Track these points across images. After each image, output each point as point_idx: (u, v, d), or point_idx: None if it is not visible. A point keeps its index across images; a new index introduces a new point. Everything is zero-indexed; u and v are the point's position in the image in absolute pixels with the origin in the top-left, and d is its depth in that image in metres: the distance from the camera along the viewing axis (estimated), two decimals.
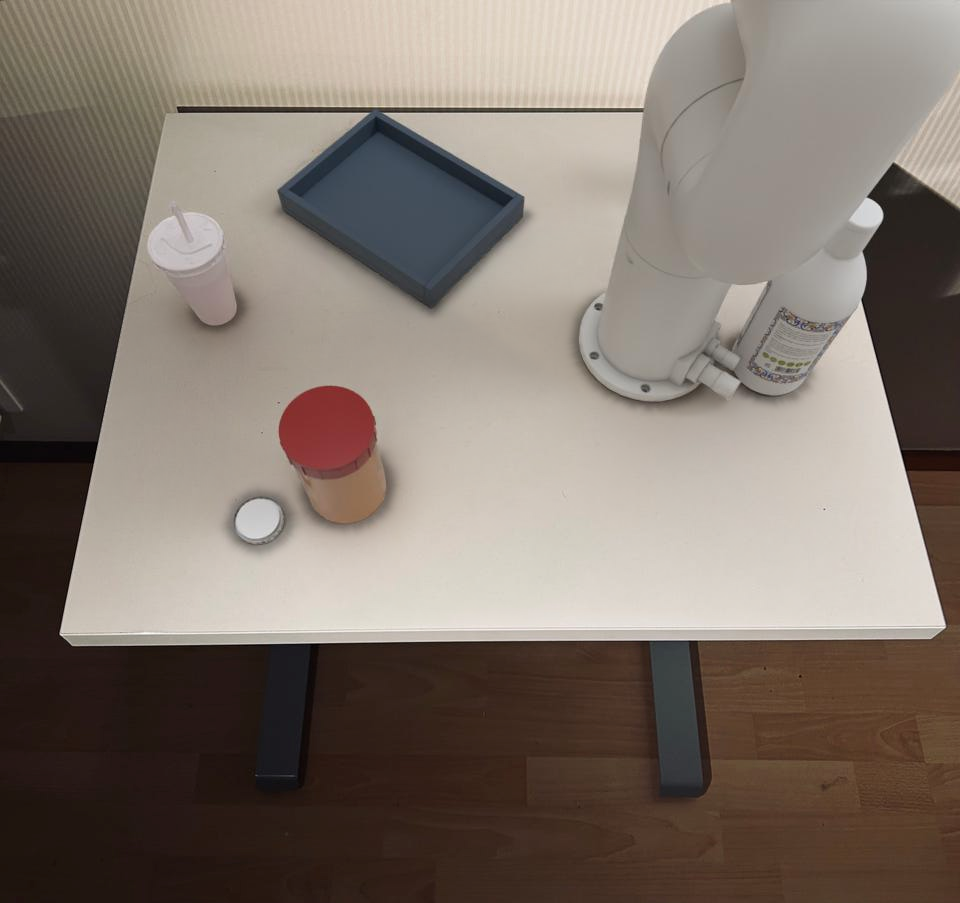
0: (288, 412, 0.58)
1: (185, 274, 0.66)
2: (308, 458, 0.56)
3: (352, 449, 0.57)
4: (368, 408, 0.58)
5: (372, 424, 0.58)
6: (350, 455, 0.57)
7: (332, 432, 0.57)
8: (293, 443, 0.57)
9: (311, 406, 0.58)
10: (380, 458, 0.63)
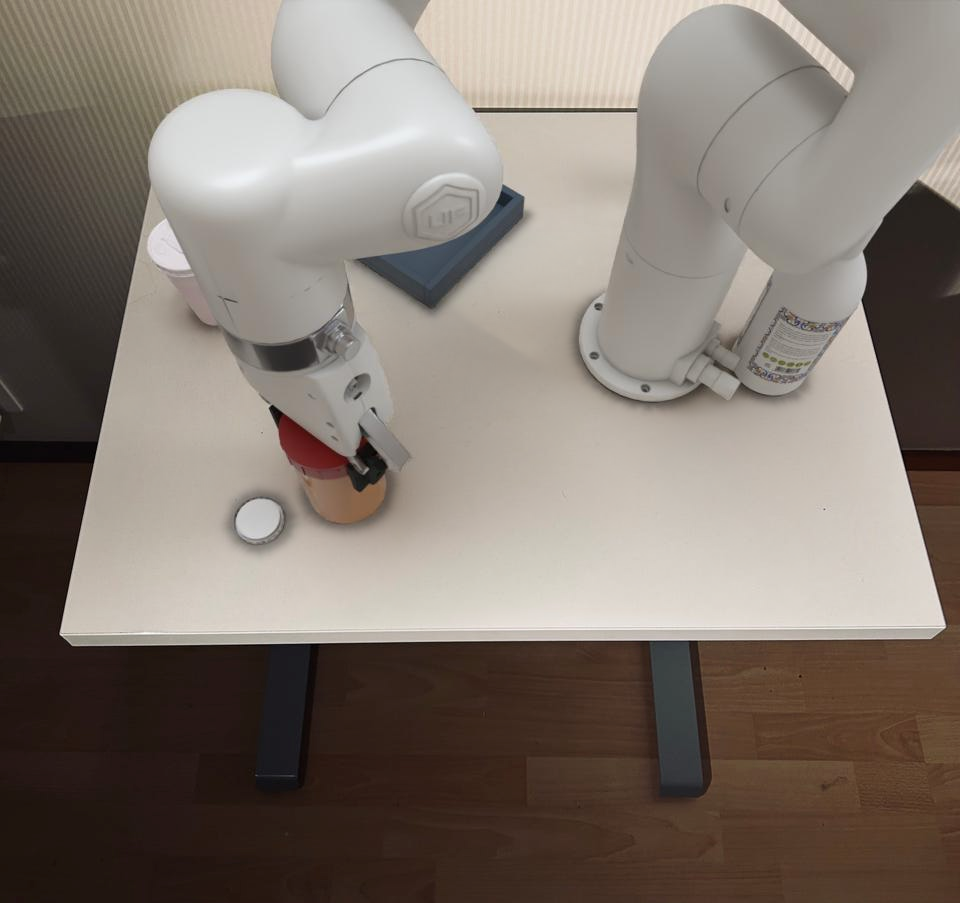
0: None
1: (185, 274, 0.66)
2: (308, 458, 0.56)
3: None
4: None
5: None
6: None
7: None
8: (293, 443, 0.57)
9: None
10: None
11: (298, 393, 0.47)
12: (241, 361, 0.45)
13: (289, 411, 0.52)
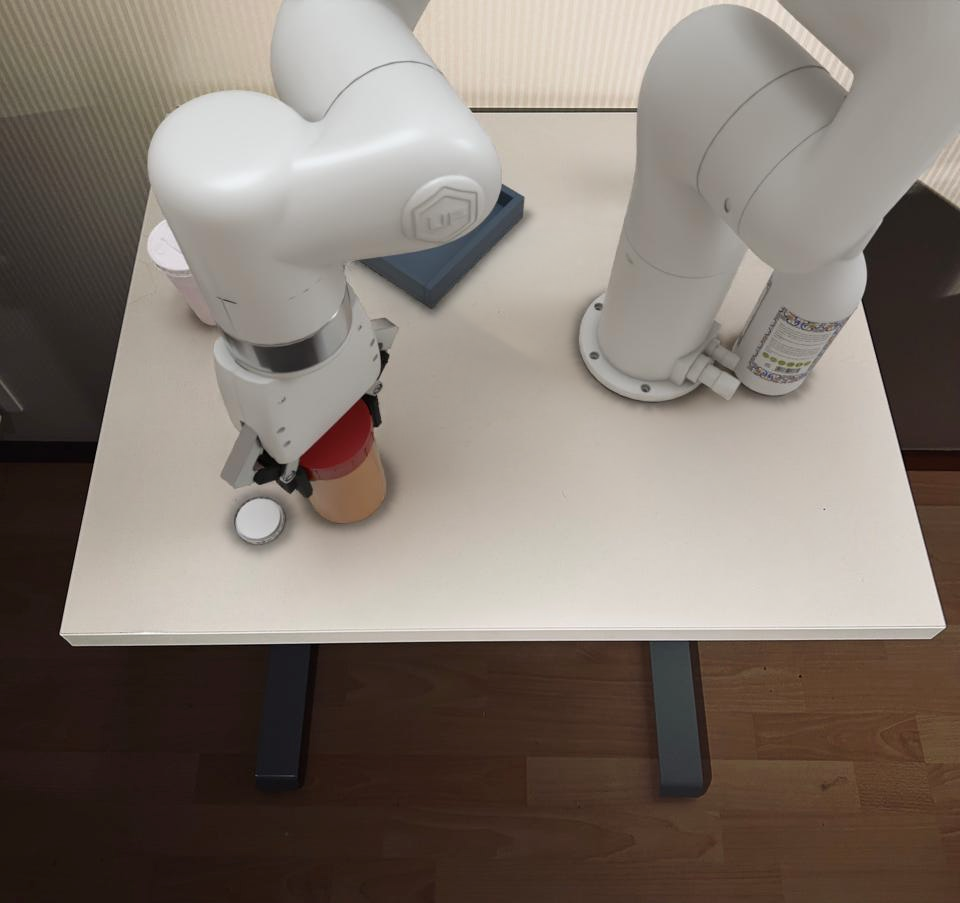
0: (303, 461, 0.56)
1: (185, 274, 0.66)
2: (358, 438, 0.57)
3: None
4: None
5: None
6: (357, 402, 0.58)
7: None
8: (340, 453, 0.56)
9: None
10: (379, 458, 0.63)
11: (351, 344, 0.49)
12: (334, 355, 0.45)
13: (338, 402, 0.52)
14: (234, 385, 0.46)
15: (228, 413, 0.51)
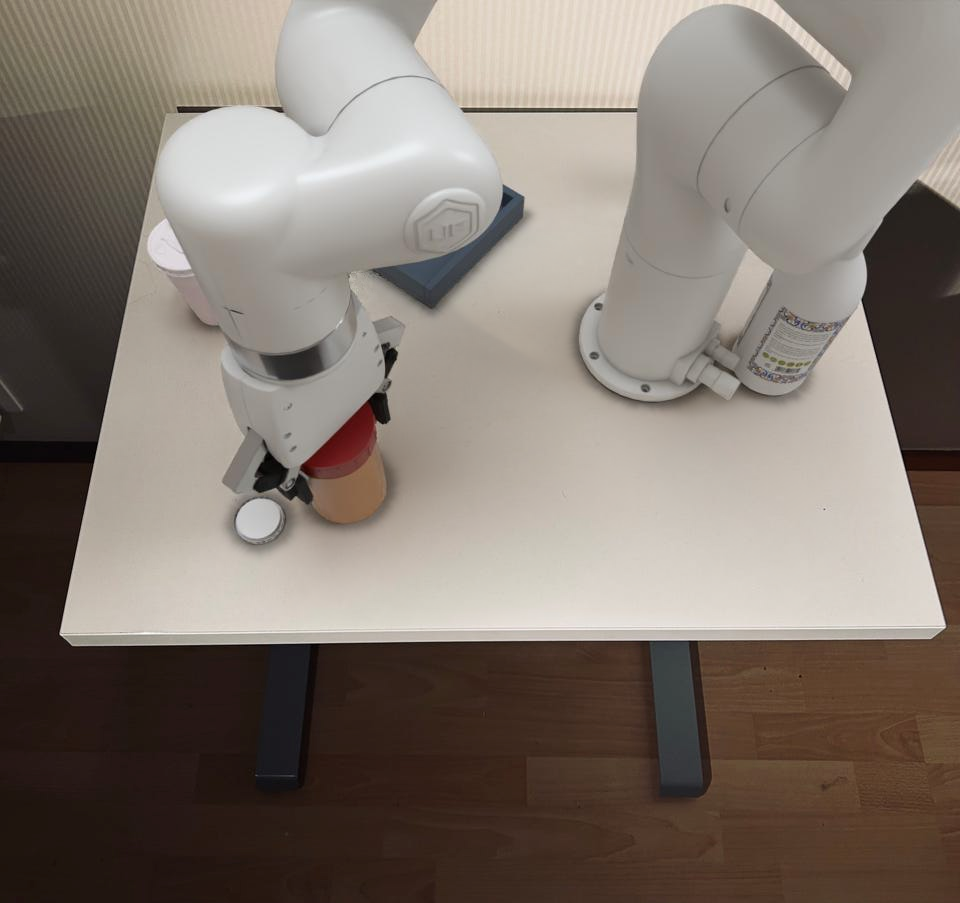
0: None
1: (185, 274, 0.66)
2: (361, 438, 0.57)
3: None
4: None
5: None
6: None
7: None
8: (343, 452, 0.56)
9: None
10: (380, 458, 0.63)
11: (355, 351, 0.49)
12: (339, 362, 0.46)
13: (343, 408, 0.53)
14: (241, 392, 0.46)
15: (235, 419, 0.51)
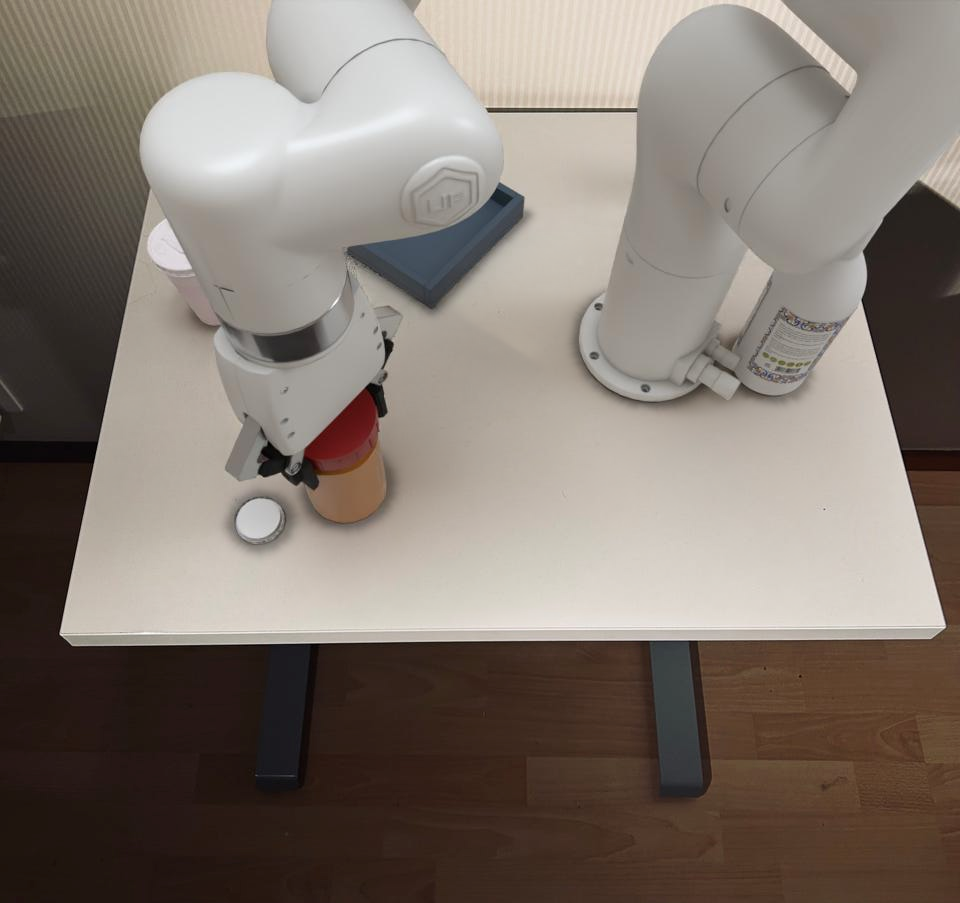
0: (366, 430, 0.56)
1: (185, 274, 0.66)
2: None
3: None
4: None
5: None
6: None
7: None
8: (360, 399, 0.57)
9: (342, 436, 0.56)
10: (382, 457, 0.63)
11: (354, 333, 0.48)
12: (336, 343, 0.44)
13: (342, 392, 0.51)
14: (236, 376, 0.45)
15: (231, 405, 0.50)
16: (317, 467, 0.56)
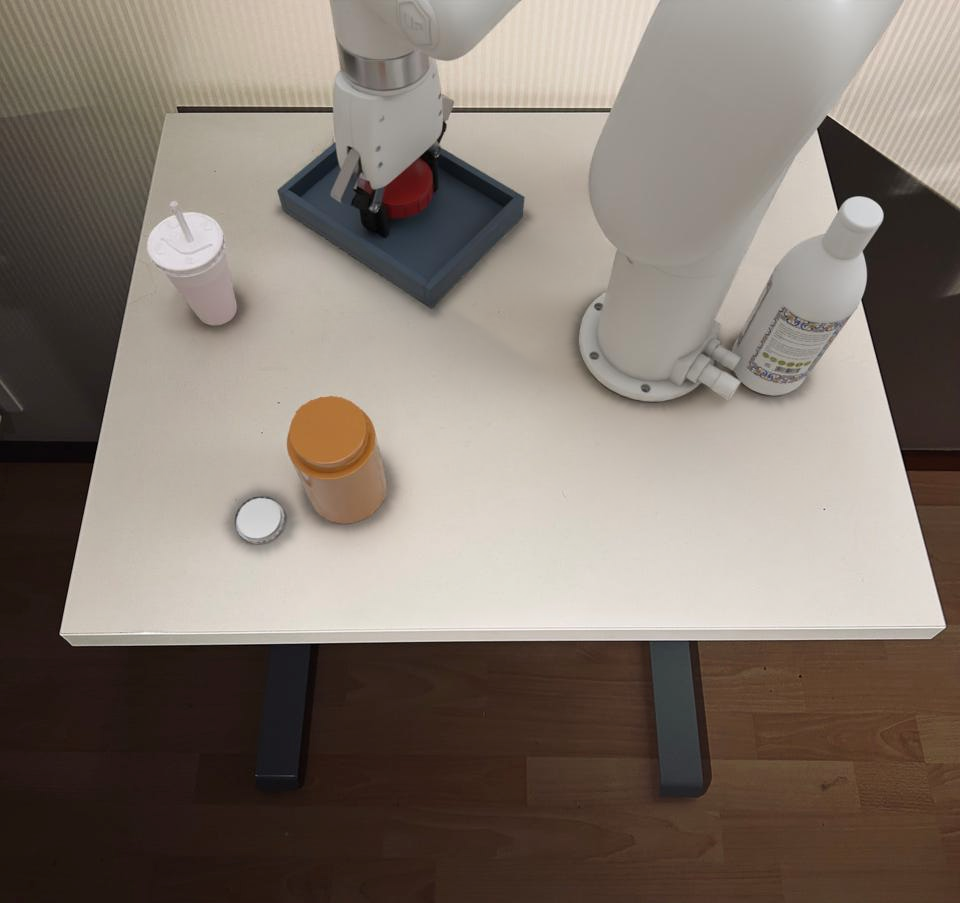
0: (425, 186, 0.76)
1: (185, 274, 0.66)
2: None
3: None
4: (365, 188, 0.76)
5: None
6: None
7: None
8: (420, 167, 0.77)
9: (408, 190, 0.76)
10: (380, 458, 0.63)
11: (427, 88, 0.68)
12: (420, 81, 0.64)
13: (414, 142, 0.71)
14: (349, 105, 0.65)
15: (336, 146, 0.70)
16: (389, 214, 0.77)
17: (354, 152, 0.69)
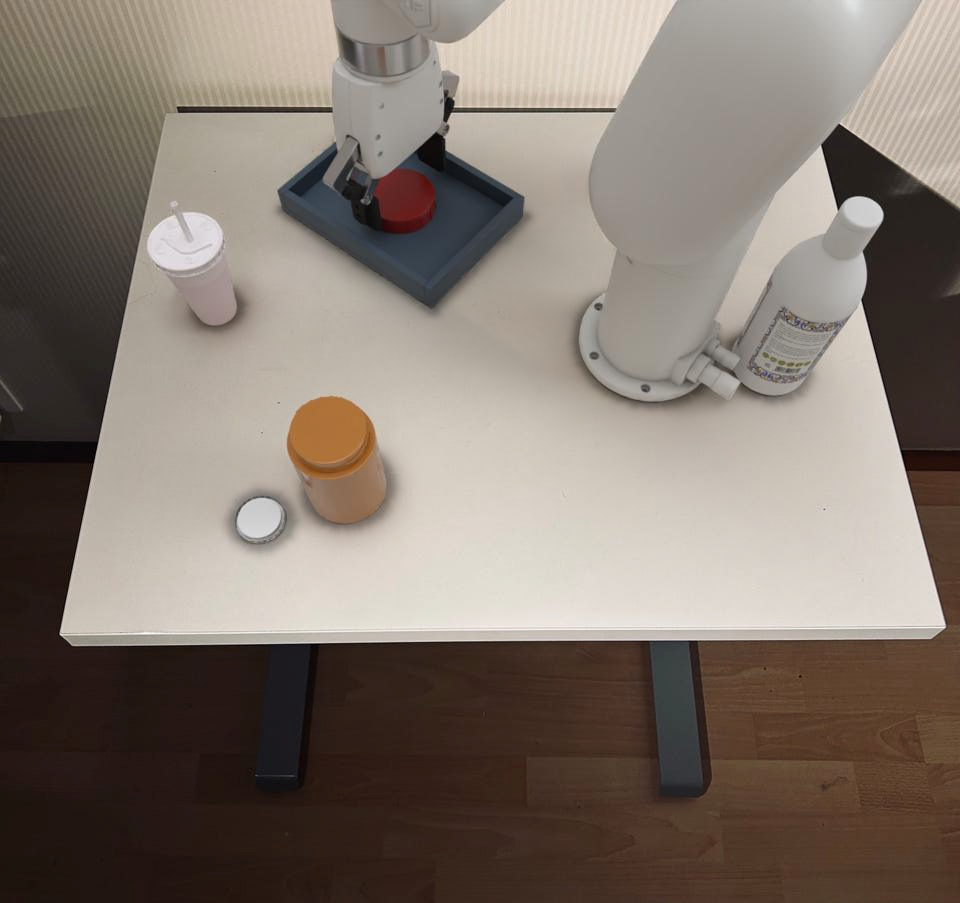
0: (428, 203, 0.78)
1: (185, 274, 0.66)
2: (412, 175, 0.80)
3: (380, 179, 0.79)
4: None
5: None
6: None
7: (395, 190, 0.79)
8: (423, 184, 0.79)
9: (411, 207, 0.78)
10: (380, 458, 0.63)
11: (427, 75, 0.67)
12: (420, 67, 0.63)
13: (415, 131, 0.70)
14: (348, 92, 0.64)
15: (336, 135, 0.69)
16: (392, 230, 0.78)
17: None
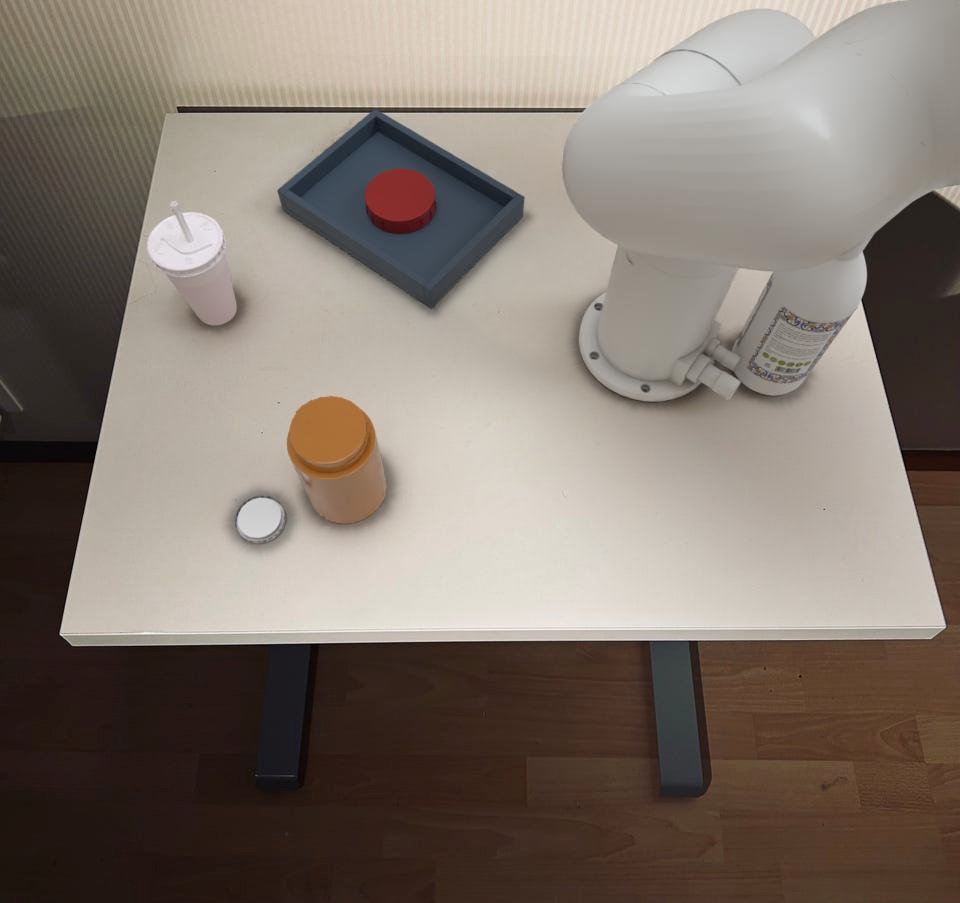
0: (428, 203, 0.78)
1: (185, 274, 0.66)
2: (412, 175, 0.80)
3: (380, 179, 0.79)
4: (368, 205, 0.78)
5: (366, 194, 0.79)
6: (382, 175, 0.80)
7: (395, 190, 0.79)
8: (423, 184, 0.79)
9: (411, 207, 0.78)
10: (380, 458, 0.63)
11: None
12: None
13: None
14: None
15: None
16: (392, 230, 0.78)
17: None
